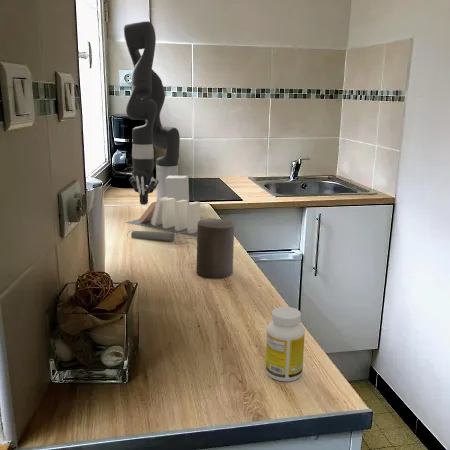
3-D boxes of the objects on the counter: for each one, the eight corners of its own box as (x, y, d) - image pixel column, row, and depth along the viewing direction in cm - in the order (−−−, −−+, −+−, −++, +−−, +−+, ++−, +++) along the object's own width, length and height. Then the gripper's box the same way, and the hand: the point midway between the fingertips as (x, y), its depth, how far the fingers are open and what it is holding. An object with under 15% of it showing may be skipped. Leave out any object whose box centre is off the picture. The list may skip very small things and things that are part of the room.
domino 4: (183, 227, 173) (183, 199, 170) (187, 227, 172) (187, 200, 169) (174, 230, 168) (174, 201, 166) (178, 230, 168) (178, 202, 165)
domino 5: (196, 229, 170) (196, 201, 167) (200, 230, 169) (200, 202, 166) (187, 232, 166) (187, 203, 163) (191, 233, 165) (191, 204, 162)
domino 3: (171, 224, 175) (171, 197, 173) (175, 225, 175) (175, 198, 172) (162, 227, 171) (162, 199, 169) (166, 228, 170) (166, 200, 168)
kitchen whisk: (132, 235, 163) (131, 217, 162) (225, 248, 152) (226, 228, 150) (122, 240, 158) (121, 221, 156) (218, 253, 146) (219, 233, 145)
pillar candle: (200, 280, 123) (202, 223, 119) (192, 267, 132) (193, 214, 128) (237, 277, 125) (239, 221, 122) (227, 265, 135) (229, 213, 131)
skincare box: (189, 214, 195) (189, 175, 191) (186, 217, 188) (186, 178, 184) (169, 213, 195) (168, 174, 192) (165, 216, 189) (165, 177, 185)
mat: (143, 218, 186) (143, 217, 186) (212, 231, 169) (212, 230, 169) (125, 223, 178) (125, 222, 178) (195, 237, 161) (195, 236, 161)
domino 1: (147, 217, 181) (161, 200, 176) (150, 220, 181) (164, 203, 175) (138, 219, 177) (152, 202, 172) (141, 223, 177) (155, 206, 171)
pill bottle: (298, 363, 85) (302, 304, 82) (305, 382, 79) (309, 320, 76) (263, 363, 84) (265, 304, 82) (267, 383, 79) (270, 320, 76)
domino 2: (160, 221, 178) (166, 196, 174) (163, 223, 177) (169, 198, 173) (150, 223, 174) (157, 198, 170) (154, 226, 173) (160, 201, 169)
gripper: (122, 156, 173) (123, 203, 178) (149, 159, 166) (150, 208, 171) (136, 154, 179) (137, 200, 184) (164, 157, 172) (164, 205, 177)
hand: (144, 204), depth 177 cm, fingers closed
